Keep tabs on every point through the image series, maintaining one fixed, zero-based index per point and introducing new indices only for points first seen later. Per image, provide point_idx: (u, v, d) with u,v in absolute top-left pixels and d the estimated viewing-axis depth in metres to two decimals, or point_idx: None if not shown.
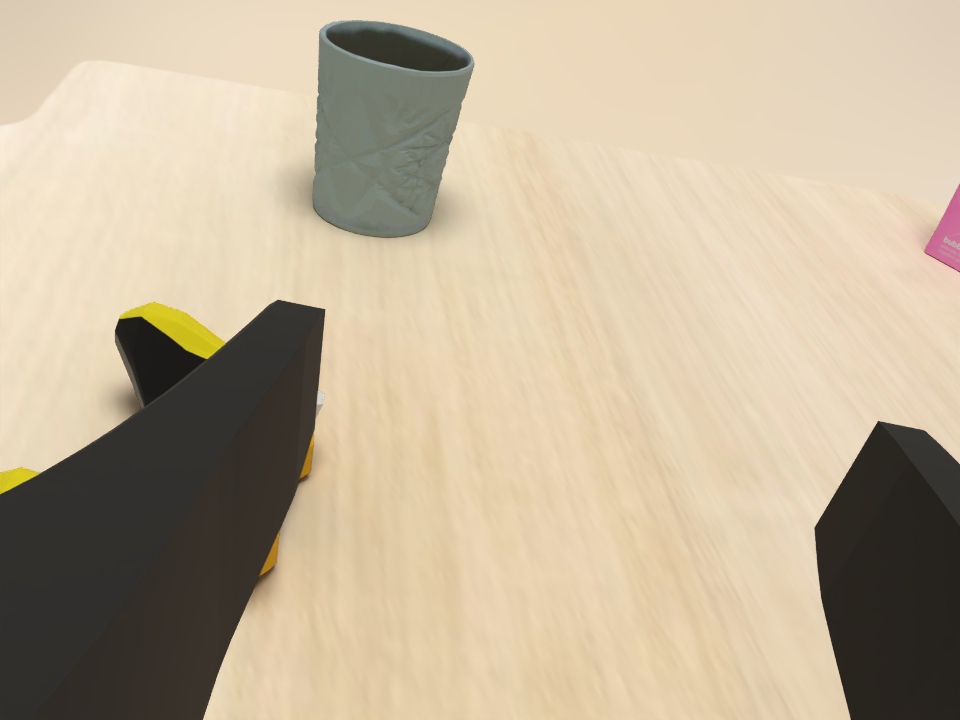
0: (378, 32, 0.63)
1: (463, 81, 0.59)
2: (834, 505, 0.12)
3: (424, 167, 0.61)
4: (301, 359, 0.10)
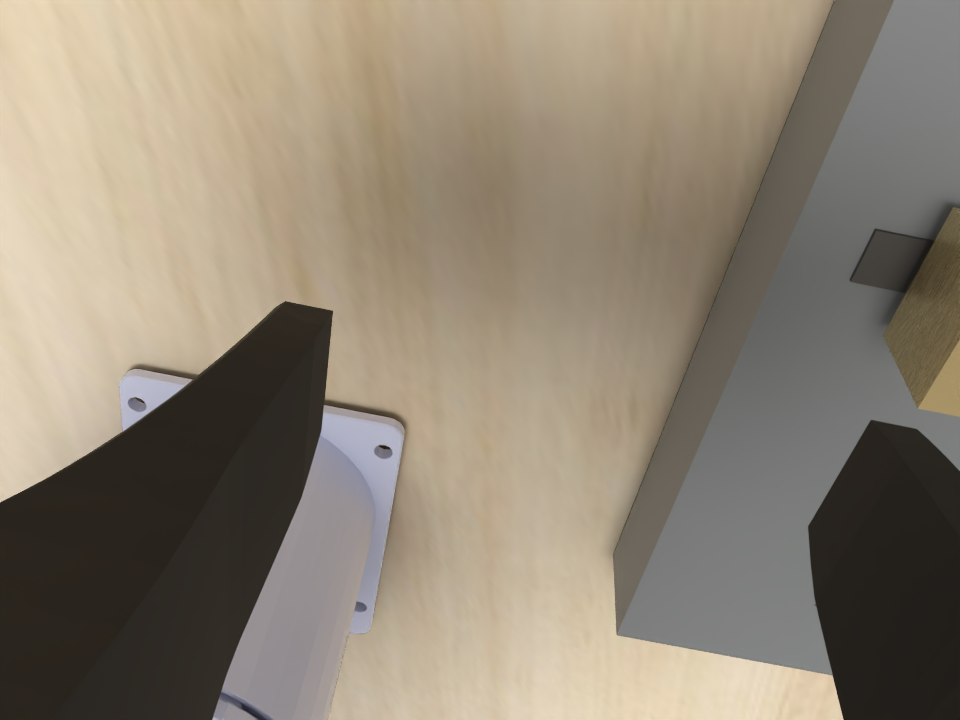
0: None
1: None
2: (827, 503, 0.12)
3: None
4: (309, 361, 0.10)
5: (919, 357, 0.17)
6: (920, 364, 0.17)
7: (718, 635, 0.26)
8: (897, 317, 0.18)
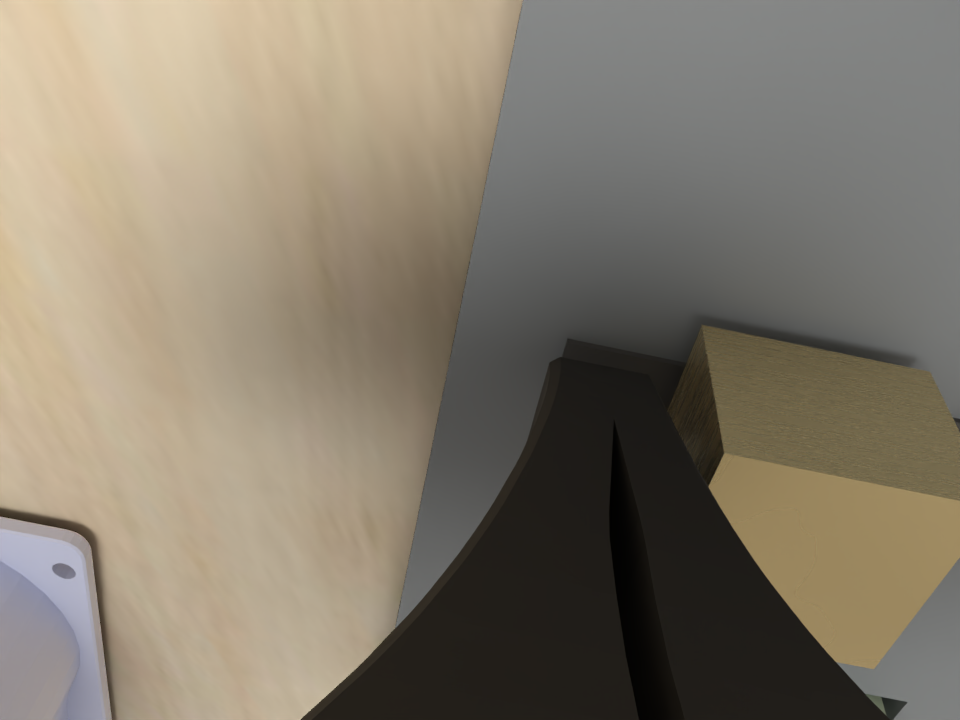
0: None
1: None
2: None
3: None
4: None
5: None
6: None
7: None
8: None
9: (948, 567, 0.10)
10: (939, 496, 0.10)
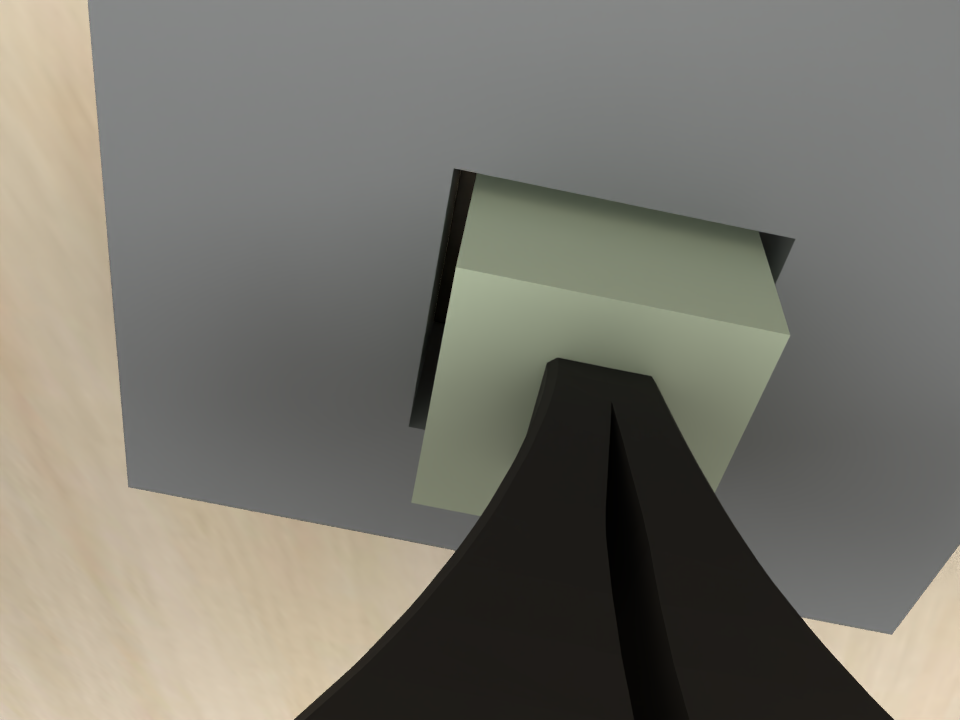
0: None
1: None
2: None
3: None
4: None
5: None
6: None
7: (282, 486, 0.16)
8: None
9: None
10: None
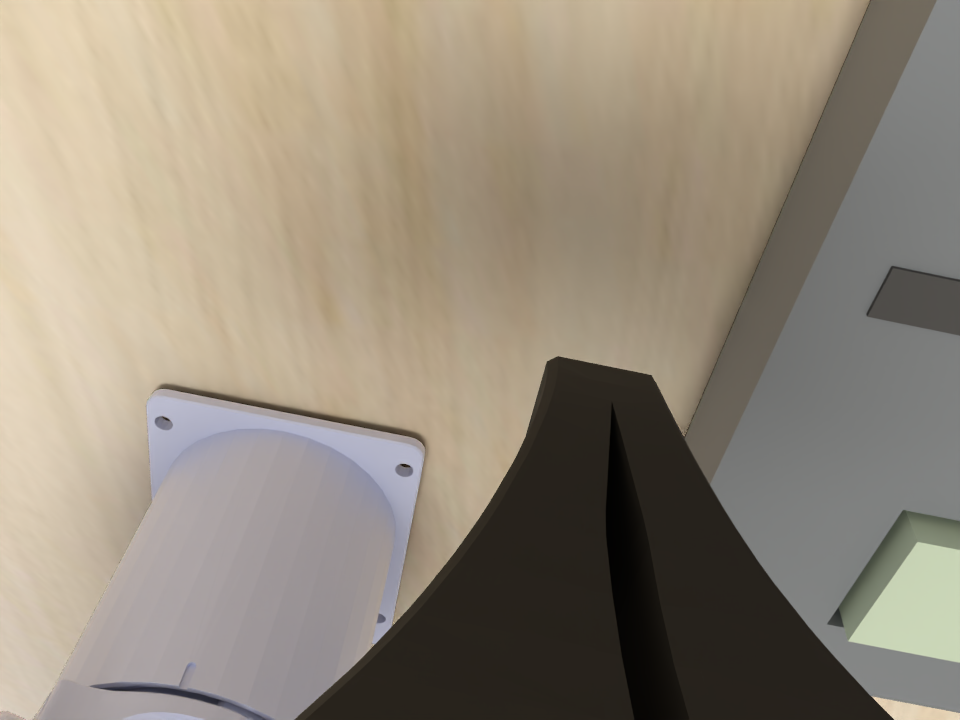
0: None
1: None
2: None
3: None
4: None
5: None
6: None
7: None
8: None
9: None
10: None
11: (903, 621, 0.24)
